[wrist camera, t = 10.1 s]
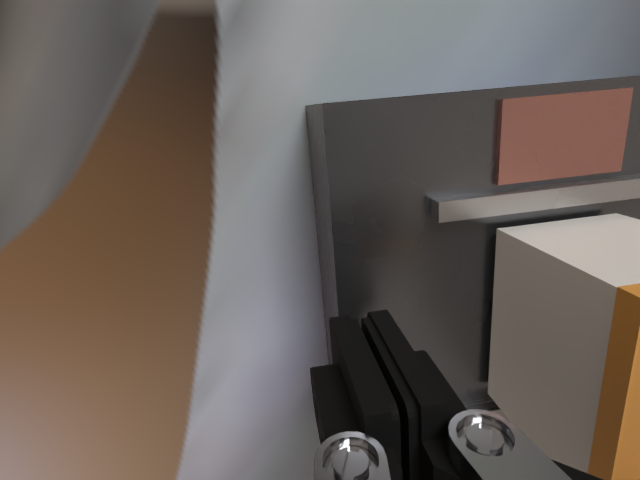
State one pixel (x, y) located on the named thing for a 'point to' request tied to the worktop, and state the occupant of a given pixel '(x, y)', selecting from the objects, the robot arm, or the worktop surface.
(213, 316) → the worktop surface
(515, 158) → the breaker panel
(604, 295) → the block
